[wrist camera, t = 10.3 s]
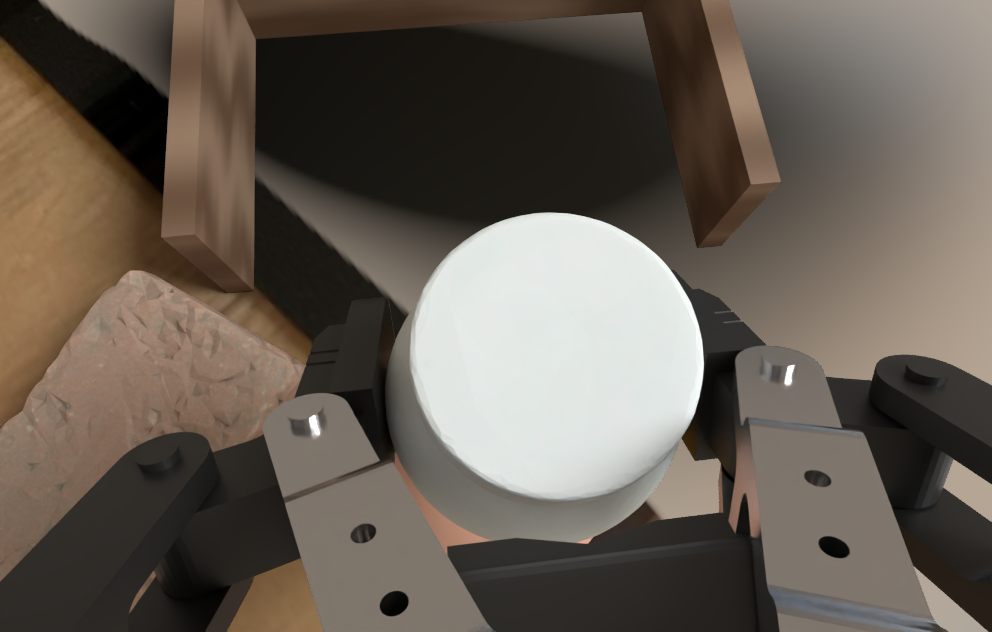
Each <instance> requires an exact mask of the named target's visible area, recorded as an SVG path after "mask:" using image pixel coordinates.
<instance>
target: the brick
mask: <svg viewBox="0 0 992 632" xmlns="http://www.w3.org/2000/svg"><path fill="white" fill-rule="evenodd" d="M304 369H305V366H304V365H303V364H302V363H300V362H299V361H298V360H296V359H293V358H292V357H291V356H290V355H288V354H287V353H286V352H284V351H283V350H281V349H279V348H278V347H275V346H273V345H271V344H269V343H268V342H266V341H265V340H264V339H263V338H261V337H260V336H258V335H256V334H255V333H253V332H251V331H249V330H247V329H246V328H244V327H242V326H240V325H239V324H237V323H236V322H234V321H232V320H231V319H229V318H228V317H226V316H225V315H223V314H221V313H220V312H218V311H217V310H215V309H214V308H212V307H210V306H209V305H207V304H206V303H204V302H202V301H201V300H199V299H197V298H195V297H193V296H191V295H189V294H187V293H185V292H183V291H181V290H180V289H178V288H177V287H175V286H173V285H171V284H169V283H167V282H166V281H164V280H162V279H161V278H159V277H158V276H156V275H154V274H152V273H149V272H145V271H140V270H135V271H129V272H128V273H126V274H125V275H124V276H122V278H121V279H120V280H119V281H118V282H117V283H116V284H115V285H114V286H113V287H110V288H109V289H107V290H106V291H104V292H103V293H102V295H101V296H100V297H99V298H98V300H97V301H96V302H95V304H94V305H93V306H92V308H91V309H90V311H89V312H88V313H87V315H86V316H85V317H84V319H83V320H82V321H81V322H80V324H79V325H78V326H77V328H76V329H75V330H74V331H73V333H72V334H71V336H70V337H69V339H68V340H67V342H66V343H65V345H64V346H63V348H62V349H61V351H60V352H59V354H58V356H57V357H56V359H55V360H54V361H53V363H52V364H51V365H50V366H49V368H48V369H47V371H46V373H45V375H44V377H43V379H42V380H41V381H39V382H38V383H37V384H36V385H35V386H34V388H33V390H32V391H31V393H30V394H29V396H28V397H27V400H26V403H25V405H24V408H23V410H22V411H21V412H20V413H18V414H17V415H15V416H14V417H12V418H11V419H9V420H8V421H7V422H6V423H5V424H4V425H3V426H2V427H1V429H0V581H1V580H2V579H3V578H4V577H5V576H6V575H7V574H8V573H9V572H10V571H11V570H12V569H13V568H14V567H15V566H16V565H17V564H18V563H19V562H20V561H21V560H22V559H23V558H24V557H25V556H26V555H27V554H28V553H29V552H30V550H31V549H32V548H33V547H34V546H35V545H36V544H37V543H38V542H39V541H40V540H41V539H42V538H43V537H44V536H45V535H46V534H47V533H48V532H49V531H50V530H51V529H52V528H53V527H54V526H55V525H56V524H57V523H58V522H59V521H60V520H61V519H62V518H63V517H64V515H65V514H66V513H67V512H68V511H69V510H70V509H71V508H72V507H73V506H74V505H75V504H76V503H77V502H78V501H79V500H80V499H81V498H82V497H83V496H84V495H85V494H86V493H87V492H88V491H89V490H90V489H91V488H92V487H93V486H94V485H95V484H96V483H97V482H98V481H99V479H100V478H101V477H102V476H103V475H104V474H105V473H106V472H107V471H108V470H109V469H110V468H111V467H112V466H113V465H114V464H115V463H116V462H117V461H118V460H119V459H120V458H121V457H122V456H123V455H125V454H126V453H127V452H129V451H130V450H131V449H133V448H135V447H136V446H138V445H140V444H142V443H144V442H146V441H148V440H151V439H153V438H156V437H159V436H162V435H166V434H170V433H176V432H193V433H198V434H200V435H203V436H204V437H205V438H206V439H207V440H208V442H209V444H210V447H211V449H212V452H215V451H218V450H221V449H225V448H228V447H231V446H234V445H238V444H241V443H244V442H247V441H250V440H253V439H255V438H257V437H259V436H261V435H263V434H264V433H263V423H264V421H265V419H266V418H267V416H268V415H269V414H270V413H271V412H272V411H273V410H274V409H275V408H277V407H278V406H280V405H281V404H283V403H285V402H287V401H289V400H291V399H294V397H295V394H296V391H297V389H298V386H299V383H300V380H301V377H302V374H303V372H304ZM155 577H156V575H155V573H154V571H153V572H152V574H151V575H150V576H149V578H148V579H147V581H146V582H145V583H144V585H143V586H142V588H141V589H140V590H139V592H138V593H137V595H136V597H135V599H134V601H133V603H132V605H131V608H130V612H131V611H132V609H133V608H134V606H135V605H136V604H137V602H138V601H139V599H140V598H141V596H142V595H143V594H144V592H145V591H146V589H147V588H148V587H149V585H150V584H151V582H152V581H153V580H154V578H155ZM130 612H129V613H130Z"/></svg>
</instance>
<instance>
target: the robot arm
mask: <svg viewBox="0 0 992 632" xmlns="http://www.w3.org/2000/svg"><path fill="white" fill-rule="evenodd" d="M671 272H672V273H673V274H674V276H675V277H676V279H677V280H678V282H679V283H680V285H681V286H682V288H683V290H684V291H685V293H686V295H687V297H688V298H689V300H690V302H691V305H692V307H693V310H694V313H695V316H696V319H697V322H698V325H699V329H700V333H701V338H702V345H703V359H704V369H703V380H702V386H701V391H700V397H699V400H698V404H697V407H696V411H695V414H694V416H693V418H692V420H691V422H690V424H689V426H688V428H687V430H686V431H685V433H684V434H683V436H682V440H683V441H684V443H685V445H686V447H687V448H688V450H689V451H690V453H691V455H692V457H693V458H694V460H695V461H698V460H707V459H715V458H718V459H719V461H720V462H721V465H720V473H719V480H718V487H719V488H718V490H719V513H714V514H706V515H697V516H689V517H681V518H673V519H665V520H657V521H654V522H651V523H648V524H646V525H643V526H640V527H637V528H635V529H632V530H629V531H626V532H624V533H621V534H618V535H615V536H613V537H610V538H607V539H604V540H602V541H599V542H595V543H589V544H584V543H572V542H560V541H548V540H536V539H525V538H511V539H503V540H494V541H486V542H478V543H470V544H462V545H454V546H447V554H446V552H445V551H444V549H443V547H442V545H441V544H440V542H439V540H438V539H437V537H436V535H435V533H434V532H433V530H432V528H431V527H430V525H429V523H428V521H427V520H426V518H425V516H424V515H423V513H422V511H421V509H420V508H419V506H418V504H417V502H416V501H415V499H414V497H413V496H412V494H411V492H410V490H409V489H408V487H407V485H406V484H405V482H404V480H403V478H402V477H401V475H400V473H399V472H398V470H397V468H396V466H395V452H396V451H395V449H394V446H393V443H392V440H391V437H390V433H389V428H388V423H387V418H386V408H385V383H386V374H387V368H388V363H389V359H390V356H391V352H392V349H393V346H394V343H395V336H394V330H393V324H392V318H391V312H390V306H389V302H388V299H387V298H377V299H367V300H357V301H352V303H351V306H350V310H349V314H348V318H347V321H346V324H340V325H330V326H328V327H327V328H326V329H325V330H324V331H323V332H322V333H321V334H320V335H318V336H317V337H316V338H315V340H314V343H313V346H312V349H311V352H310V355H309V357H308V360H307V363H306V367H305V369H304V372H303V374H302V377H301V380H300V383H299V386H298V389H297V391H296V394H295V397H294V399H291V400H289V401H287V402H285V403H283V404H281V405H280V406H278V407H277V408H275V409H274V410H273V411H272V412H271V413H270V414H269V415H268V416H267V418H266V419H265V421H264V423H263V433H264V434H263V435H261V436H259V437H257V438H255V439H253V440H250V441H247V442H244V443H241V444H238V445H234V446H231V447H228V448H225V449H221V450H218V451H215V452H212V449H211V447H210V444H209V442H208V440H207V439H206V438H205V437H204V436H203V435H200V434H198V433H193V432H176V433H170V434H166V435H162V436H159V437H156V438H153V439H151V440H148V441H146V442H144V443H142V444H140V445H138V446H136V447H135V448H133V449H131V450H130V451H129V452H127V453H126V454H125V455H123V456H122V457H121V458H120V459H119V460H118V461H117V462H116V463H115V464H114V465H113V466H112V467H111V468H110V469H109V470H108V471H107V472H106V473H105V474H104V475H103V476H102V477H101V478H100V479H99V481H98V482H97V483H96V484H95V485H94V486H93V487H92V488H91V489H90V490H89V491H88V492H87V493H86V494H85V495H84V496H83V497H82V498H81V499H80V500H79V501H78V502H77V503H76V504H75V505H74V506H73V507H72V508H71V509H70V510H69V511H68V512H67V513H66V514H65V515H64V517H63V518H62V519H61V520H60V521H59V522H58V523H57V524H56V525H55V526H54V527H53V528H52V529H51V530H50V531H49V532H48V533H47V534H46V535H45V536H44V537H43V538H42V539H41V540H40V541H39V542H38V543H37V544H36V545H35V546H34V547H33V548H32V549H31V550H30V552H29V553H28V554H27V555H26V556H25V557H24V558H23V559H22V560H21V561H20V562H19V563H18V564H17V565H16V566H15V567H14V568H13V569H12V570H11V571H10V572H9V573H8V574H7V575H6V576H5V577H4V578H3V579H2V580H1V581H0V632H227V630H228V628H229V626H230V624H231V622H232V620H233V618H234V617H235V615H236V613H237V611H238V609H239V607H240V605H241V603H242V602H243V600H244V598H245V596H246V594H247V592H248V590H249V588H250V586H251V584H252V582H253V578H254V576H256V575H258V574H261V573H263V572H266V571H269V570H271V569H274V568H276V567H279V566H281V565H284V564H287V563H289V562H292V561H294V560H297V559H300V558H301V559H302V562H303V566H304V569H305V572H306V576H307V579H308V582H309V586H310V589H311V592H312V596H313V599H314V602H315V606H316V609H317V612H318V616H319V619H320V622H321V626H322V629H323V632H948V631H947V630H945V629H943V628H941V627H940V626H939V625H937V623H936V622H935V621H934V619H933V617H932V615H931V612H930V610H929V607H928V605H927V602H926V599H925V597H924V594H923V591H922V588H921V586H920V583H919V580H918V578H917V575H916V572H915V569H914V567H916V568H917V569H918V570H919V571H920V572H921V573H922V574H924V575H925V576H926V577H927V578H928V579H929V580H930V581H931V582H933V583H934V584H935V585H936V586H937V587H938V588H939V589H941V590H942V591H943V592H944V593H945V594H946V595H947V596H949V597H950V598H951V599H952V600H953V601H954V602H955V603H956V604H958V605H959V606H960V607H961V608H962V609H963V610H964V611H966V612H967V613H968V614H969V615H970V616H971V617H973V618H974V619H975V620H976V621H977V622H978V623H979V624H980V625H982V626H983V627H984V628H985V629H986V630H987V631H988V632H992V522H990V521H989V520H988V519H986V518H985V517H983V516H982V515H981V514H979V513H978V512H976V511H975V510H973V509H972V508H971V507H969V506H968V505H966V504H965V503H964V502H962V501H961V500H959V499H958V498H957V497H955V496H954V495H953V494H951V493H950V492H948V491H947V490H946V489H944V488H943V486H944V483H945V481H946V478H947V475H948V473H949V470H950V467H951V464H952V462H953V459H954V460H956V461H957V462H959V463H961V464H962V465H963V466H965V467H966V468H968V469H969V470H971V471H973V472H974V473H975V474H977V475H978V476H980V477H982V478H983V479H985V480H986V481H988V482H989V483H991V484H992V385H990V384H988V383H986V382H984V381H982V380H980V379H978V378H977V377H975V376H973V375H971V374H969V373H967V372H965V371H963V370H961V369H959V368H957V367H955V366H953V365H951V364H948V363H946V362H943V361H939V360H936V359H932V358H928V357H923V356H916V355H894V356H888V357H885V358H883V359H881V360H880V361H879V362H878V363H877V364H876V367H875V371H874V375H873V378H872V381H870V380H857V379H843V378H832V377H825V374H824V371H823V369H822V367H821V365H820V364H819V363H818V362H817V361H815V359H813V358H811V357H810V356H808V355H806V354H804V353H802V352H799V351H797V350H793V349H790V348H785V347H779V346H767V345H766V344H765V343H764V342H762V340H761V339H760V338H759V337H758V336H757V335H756V334H755V333H754V332H753V331H752V330H751V329H750V328H749V327H748V326H747V325H746V324H745V323H744V322H740V318H739V317H737V315H736V314H734V312H731V310H730V309H729V308H728V307H727V306H726V305H725V304H724V303H723V302H722V301H721V300H720V299H719V298H718V297H715V296H714V295H711V294H709V293H707V292H705V291H703V290H701V289H692V288H691V287H690V286H689V285H688V284H687V283H686V282H685V281H684V280H683V279H682V278H681V277H680V276H679V275H678V274H677V272H675V271H674V270H671ZM913 566H914V567H913ZM153 571H154V573H155V575H156V577H155V578H154V580H153V581H152V582H151V584H150V585H149V587H148V588H147V589H146V591H145V592H144V594H143V595H142V596H141V598H140V599H139V601H138V602H137V604H136V605H135V606H134V608H133V609H132V611H131V612H130V608H131V605H132V603H133V601H134V599H135V597H136V595H137V593H138V592H139V590H140V589H141V588H142V586H143V585H144V583H145V582H146V581H147V579H148V578H149V576H150V575H151V574H152V572H153ZM129 612H130V613H129Z"/></svg>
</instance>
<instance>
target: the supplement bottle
mask: <svg viewBox="0 0 992 632" xmlns="http://www.w3.org/2000/svg"><path fill="white" fill-rule="evenodd" d="M703 369H704V359H703V345H702V338H701V333H700V329H699V325H698V322H697V319H696V316H695V313H694V310H693V307H692V305H691V302H690V300H689V298H688V297H687V295H686V293H685V291H684V290H683V288H682V286H681V285H680V283H679V282H678V280H677V279H676V277H675V276H674V274H673V273H672V272H671V270H670V269H669V268H668V267H667V266H666V264H665V263H664V262H663V261H662V260H661V259H660V258H659V257H658V256H657V255H656V254H655V253H654V252H653V251H651V250H650V249H649V248H648V247H646V246H645V245H644V244H643V243H642V242H640V241H639V240H637V239H636V238H634V237H632V236H631V235H629V234H628V233H626V232H624V231H622V230H620V229H618V228H616V227H614V226H612V225H610V224H607V223H605V222H602V221H599V220H595V219H591V218H588V217H583V216H578V215H573V214H567V213H535V214H529V215H522V216H518V217H514V218H510V219H507V220H504V221H501V222H498V223H495V224H493V225H491V226H489V227H486V228H484V229H482V230H481V231H479V232H477V233H476V234H474V235H473V236H471V237H469V238H468V239H466V240H465V241H464V242H462V243H461V244H460V245H458V246H457V247H456V248H455V249H454V250H453V251H451V252H450V253H449V254H448V255H447V256H446V257H445V259H444V260H443V261H442V262H441V263H440V265H439V266H438V267H437V268H436V269H435V271H434V272H433V274H432V275H431V277H430V278H429V280H428V281H427V283H426V284H425V286H424V288H423V291H422V293H421V295H420V297H419V300H418V302H417V304H416V305H415V307H414V308H413V309H412V311H411V312H410V314H409V315H408V317H407V318H406V320H405V322H404V324H403V326H402V328H401V330H400V332H399V334H398V336H397V338H396V341H395V343H394V346H393V349H392V352H391V356H390V359H389V363H388V368H387V374H386V383H385V408H386V418H387V423H388V428H389V433H390V437H391V440H392V443H393V446H394V449H395V451H396V454H397V456H398V458H399V461H400V463H401V465H402V466H403V468H404V470H405V471H406V473H407V475H408V477H409V478H410V480H411V481H412V483H413V484H414V486H415V487H416V488H417V490H418V491H419V492H420V493H421V495H422V496H423V497H424V498H425V499H426V500H427V501H428V502H429V503H430V504H431V505H432V506H433V507H434V508H435V509H436V510H437V511H438V512H440V513H441V514H442V515H443V516H445V517H446V518H447V519H449V520H450V521H452V522H453V523H454V524H456V525H458V526H460V527H461V528H463V529H465V530H467V531H469V532H471V533H473V534H475V535H477V536H480V537H482V538H485V539H488V540H491V541H494V540H503V539H511V538H525V539H536V540H548V541H560V542H572V543H576V542H579V541H583V540H586V539H589V538H591V537H594V536H596V535H599V534H601V533H603V532H604V531H606V530H608V529H610V528H612V527H613V526H615V525H617V524H618V523H620V522H621V521H623V520H624V519H625V518H627V517H628V516H629V515H631V514H632V513H633V512H634V511H635V510H637V509H638V508H639V507H640V506H641V505H642V504H643V503H644V502H645V501H646V500H647V498H648V497H649V496H650V495H651V494H652V492H653V491H654V490H655V489H656V487H657V486H658V485H659V483H660V481H661V480H662V479H663V477H664V475H665V473H666V472H667V469H668V468H669V466H670V464H671V462H672V460H673V457H674V455H675V452H676V450H677V447H678V444H679V441H680V439H681V438H682V436H683V434H684V433H685V431H686V430H687V428H688V426H689V424H690V422H691V420H692V418H693V416H694V414H695V411H696V407H697V404H698V400H699V397H700V391H701V386H702V380H703Z"/></svg>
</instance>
